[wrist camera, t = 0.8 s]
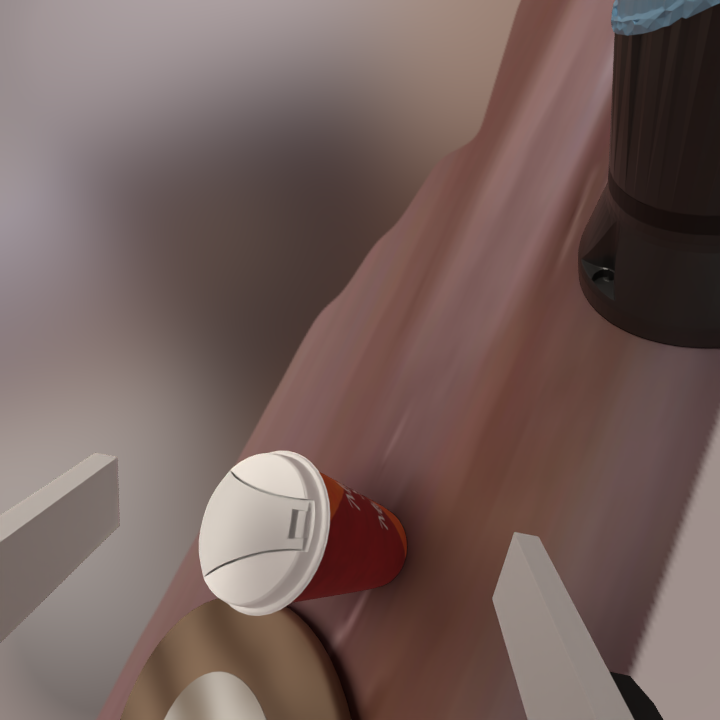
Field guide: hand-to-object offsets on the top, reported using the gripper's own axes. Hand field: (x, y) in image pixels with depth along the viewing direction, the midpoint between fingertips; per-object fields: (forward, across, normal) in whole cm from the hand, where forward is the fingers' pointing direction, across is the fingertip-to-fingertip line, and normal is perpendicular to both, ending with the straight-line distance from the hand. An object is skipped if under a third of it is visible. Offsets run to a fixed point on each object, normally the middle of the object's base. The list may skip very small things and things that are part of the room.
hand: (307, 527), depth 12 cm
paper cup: (+14, +4, -13) cm, 19 cm away
